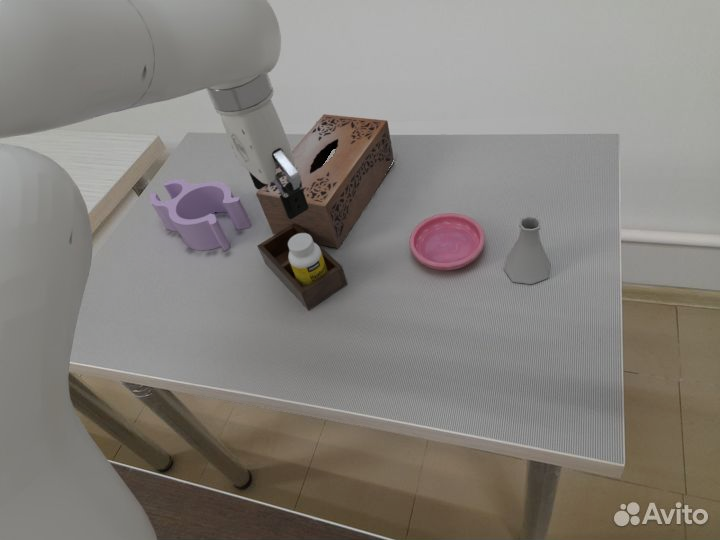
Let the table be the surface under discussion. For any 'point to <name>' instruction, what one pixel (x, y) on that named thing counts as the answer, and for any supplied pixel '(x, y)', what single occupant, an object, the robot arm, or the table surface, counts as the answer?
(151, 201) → the clip
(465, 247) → the saucer
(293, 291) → the holder
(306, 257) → the supplement bottle
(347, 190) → the tissue box cover
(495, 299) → the table surface
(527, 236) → the flask
